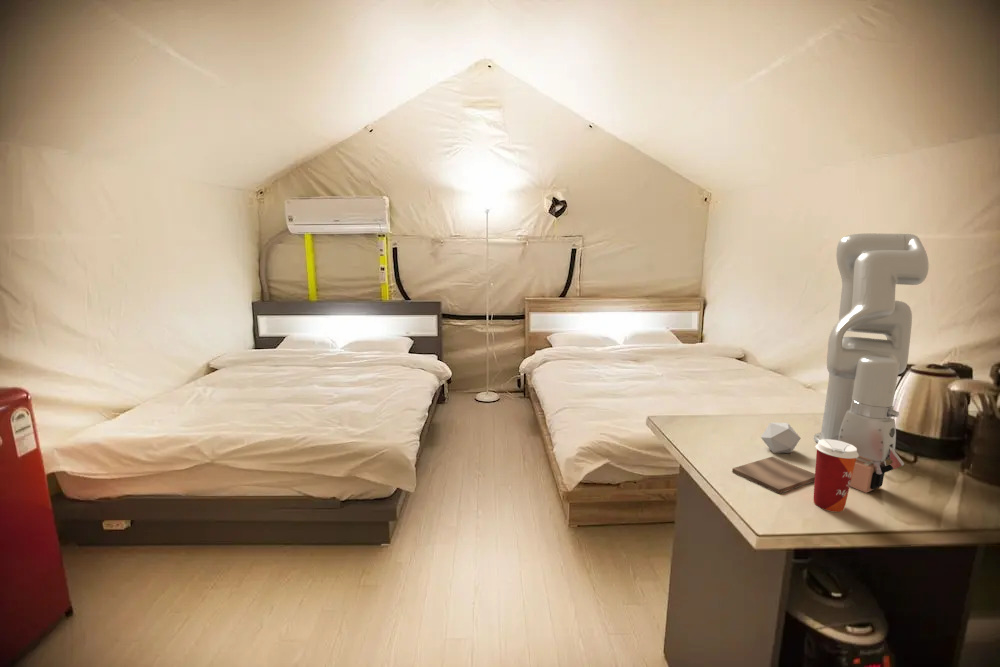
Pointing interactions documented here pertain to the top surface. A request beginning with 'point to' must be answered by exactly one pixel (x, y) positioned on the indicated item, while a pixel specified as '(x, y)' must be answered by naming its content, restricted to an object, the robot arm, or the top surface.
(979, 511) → the top surface
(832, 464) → the paper cup
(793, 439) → the die
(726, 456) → the top surface
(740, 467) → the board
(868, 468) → the lettered cube
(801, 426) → the top surface
